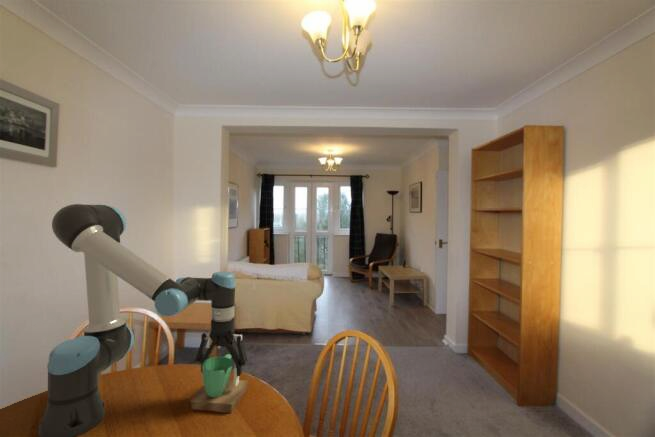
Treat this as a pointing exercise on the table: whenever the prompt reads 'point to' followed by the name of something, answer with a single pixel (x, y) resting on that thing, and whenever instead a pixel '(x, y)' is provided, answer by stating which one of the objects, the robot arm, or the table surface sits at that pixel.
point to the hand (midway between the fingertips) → (221, 383)
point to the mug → (216, 374)
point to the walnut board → (220, 398)
